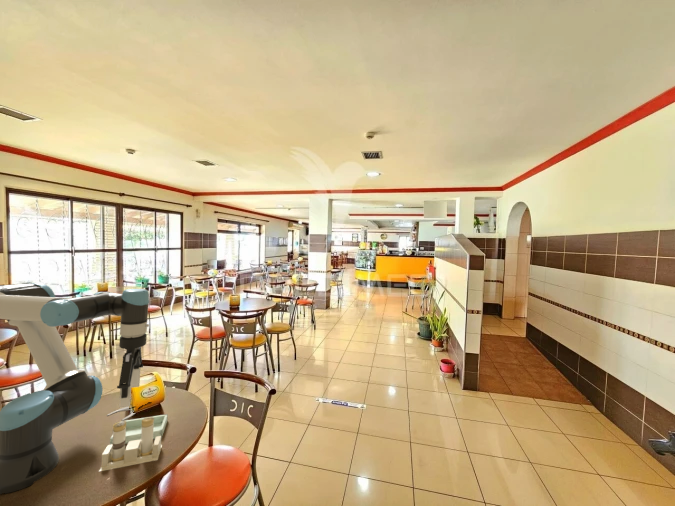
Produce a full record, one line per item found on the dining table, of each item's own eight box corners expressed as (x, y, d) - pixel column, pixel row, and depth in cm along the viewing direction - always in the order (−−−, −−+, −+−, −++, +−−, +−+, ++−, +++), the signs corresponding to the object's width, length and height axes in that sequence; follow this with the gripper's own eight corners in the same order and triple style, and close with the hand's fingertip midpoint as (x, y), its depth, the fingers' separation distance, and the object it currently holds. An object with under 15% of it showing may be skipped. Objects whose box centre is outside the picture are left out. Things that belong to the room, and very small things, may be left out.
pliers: (106, 412, 120) (141, 396, 134) (106, 416, 120) (141, 399, 134) (122, 418, 117) (156, 400, 131) (122, 421, 117) (156, 404, 131)
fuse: (139, 459, 96) (140, 423, 95) (142, 452, 99) (143, 417, 99) (151, 456, 97) (152, 421, 97) (153, 449, 100) (154, 416, 100)
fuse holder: (98, 474, 90) (99, 458, 90) (108, 456, 97) (108, 442, 97) (157, 462, 96) (157, 447, 96) (162, 446, 103) (162, 432, 103)
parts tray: (109, 448, 101) (110, 438, 101) (120, 430, 111) (120, 421, 111) (161, 439, 107) (162, 430, 107) (167, 422, 117) (167, 414, 117)
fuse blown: (110, 464, 93) (111, 428, 93) (114, 457, 96) (115, 422, 96) (123, 462, 94) (124, 426, 94) (126, 455, 97) (127, 420, 97)
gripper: (138, 345, 88) (134, 413, 88) (153, 324, 110) (149, 378, 110) (108, 347, 84) (104, 418, 85) (129, 325, 107) (126, 381, 107)
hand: (130, 396), depth 98 cm, fingers open, 13 cm apart
